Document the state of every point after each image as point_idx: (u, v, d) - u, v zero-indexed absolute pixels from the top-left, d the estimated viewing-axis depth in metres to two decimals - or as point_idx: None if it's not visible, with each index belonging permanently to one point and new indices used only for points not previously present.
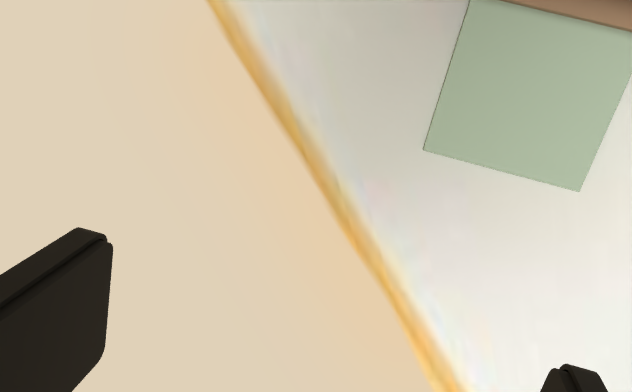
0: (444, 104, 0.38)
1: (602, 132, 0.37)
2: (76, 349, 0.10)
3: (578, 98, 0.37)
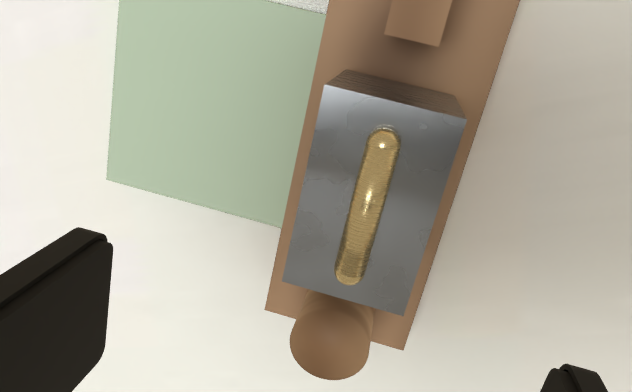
0: None
1: (178, 196, 0.31)
2: (76, 349, 0.10)
3: (214, 164, 0.30)
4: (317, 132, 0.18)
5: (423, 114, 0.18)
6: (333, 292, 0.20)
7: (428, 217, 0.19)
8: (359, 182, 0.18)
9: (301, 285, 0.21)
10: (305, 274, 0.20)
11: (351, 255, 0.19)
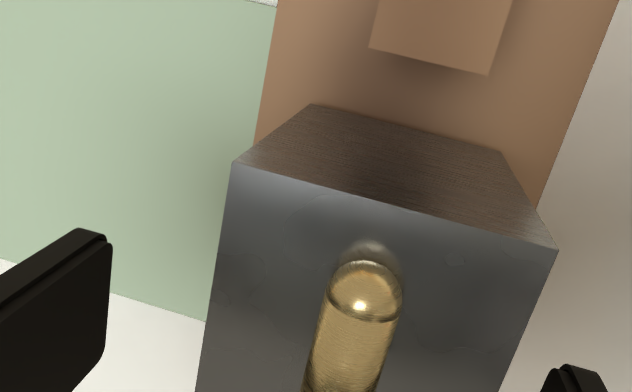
0: None
1: None
2: (76, 349, 0.10)
3: (125, 235, 0.20)
4: (223, 259, 0.09)
5: (455, 235, 0.08)
6: None
7: None
8: (310, 378, 0.08)
9: None
10: None
11: None
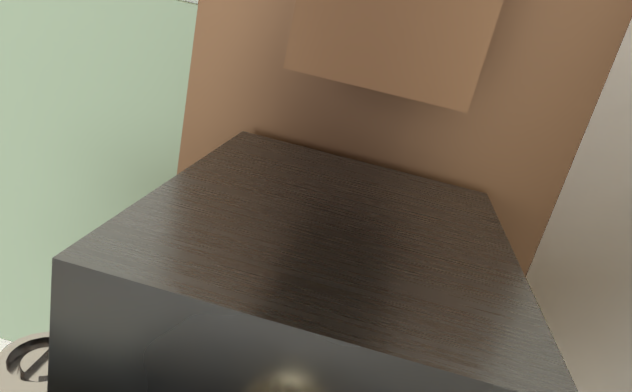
0: None
1: None
2: None
3: (41, 280, 0.16)
4: None
5: (416, 382, 0.05)
6: None
7: None
8: None
9: None
10: None
11: None
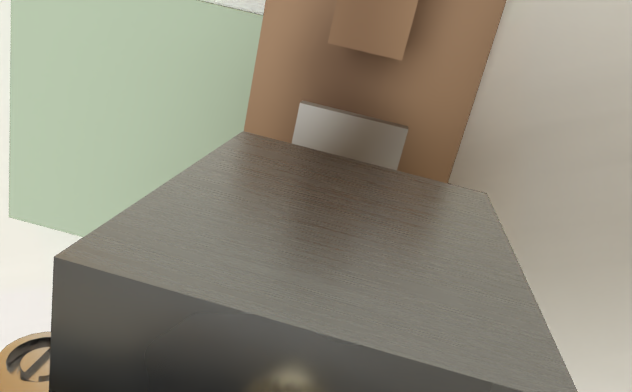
0: None
1: None
2: None
3: (138, 199, 0.24)
4: None
5: (415, 380, 0.05)
6: None
7: None
8: None
9: None
10: None
11: None
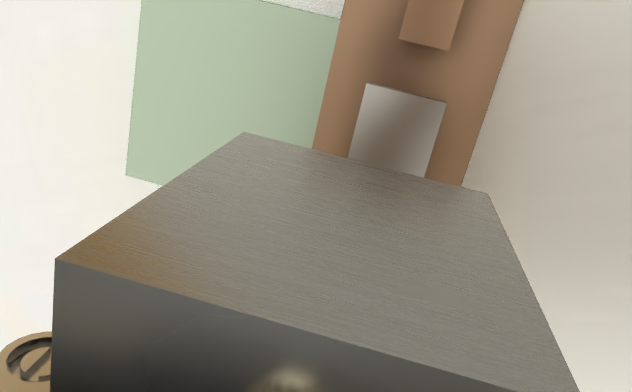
0: None
1: None
2: None
3: None
4: None
5: (418, 382, 0.05)
6: None
7: None
8: None
9: None
10: None
11: None
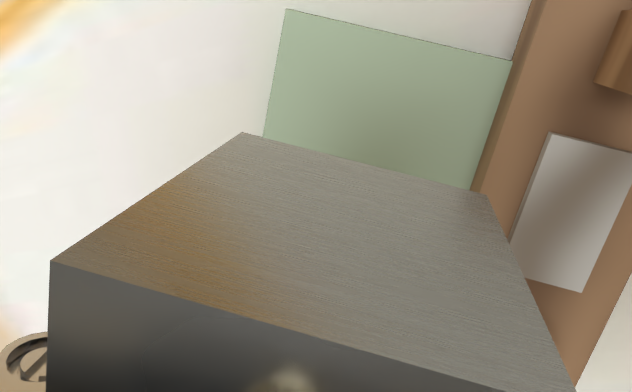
0: (355, 34, 0.26)
1: None
2: None
3: None
4: None
5: (414, 386, 0.05)
6: None
7: None
8: None
9: None
10: None
11: None
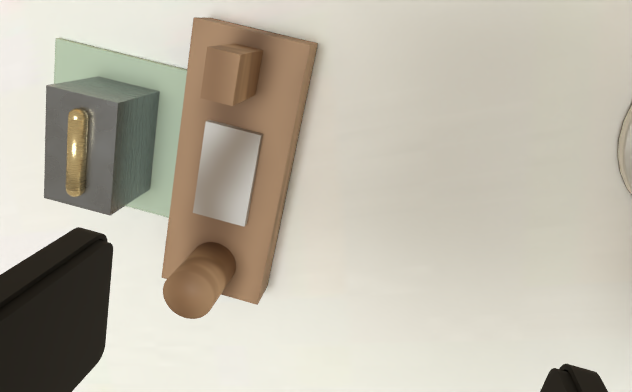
0: (101, 55, 0.39)
1: None
2: (76, 349, 0.10)
3: None
4: (47, 111, 0.34)
5: (96, 101, 0.33)
6: (71, 203, 0.36)
7: (110, 156, 0.34)
8: (67, 137, 0.34)
9: (54, 199, 0.36)
10: (55, 192, 0.36)
11: (69, 178, 0.34)
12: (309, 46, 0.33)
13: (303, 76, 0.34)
